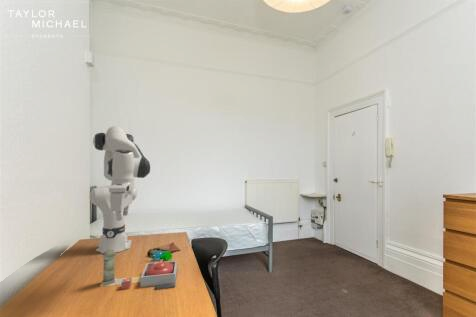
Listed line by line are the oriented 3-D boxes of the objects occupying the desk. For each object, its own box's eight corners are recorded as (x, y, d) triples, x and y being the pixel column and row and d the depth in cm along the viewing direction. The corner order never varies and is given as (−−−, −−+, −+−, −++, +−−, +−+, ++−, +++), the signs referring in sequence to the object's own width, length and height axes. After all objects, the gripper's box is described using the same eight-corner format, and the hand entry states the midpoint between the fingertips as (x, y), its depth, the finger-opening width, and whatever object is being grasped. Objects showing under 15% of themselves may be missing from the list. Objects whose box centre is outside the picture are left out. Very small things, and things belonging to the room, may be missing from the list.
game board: (107, 276, 102) (108, 265, 102) (177, 270, 109) (177, 259, 109) (92, 296, 87) (93, 283, 87) (175, 287, 93) (175, 275, 93)
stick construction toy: (151, 262, 113) (152, 246, 118) (145, 266, 116) (146, 251, 121) (173, 262, 120) (173, 248, 125) (167, 267, 123) (167, 252, 128)
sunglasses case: (155, 259, 121) (152, 247, 123) (149, 263, 124) (146, 251, 127) (181, 249, 135) (178, 239, 138) (175, 253, 139) (172, 243, 141)
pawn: (104, 280, 97) (105, 248, 97) (116, 278, 98) (117, 247, 98) (100, 285, 92) (100, 252, 93) (112, 284, 93) (113, 251, 94)
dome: (149, 271, 104) (149, 258, 104) (173, 269, 106) (173, 256, 106) (144, 283, 93) (144, 269, 93) (171, 281, 95) (172, 266, 96)
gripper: (121, 184, 107) (121, 212, 107) (107, 188, 87) (106, 224, 87) (136, 184, 109) (135, 212, 108) (124, 188, 89) (123, 223, 88)
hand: (122, 217), depth 98 cm, fingers open, 8 cm apart
